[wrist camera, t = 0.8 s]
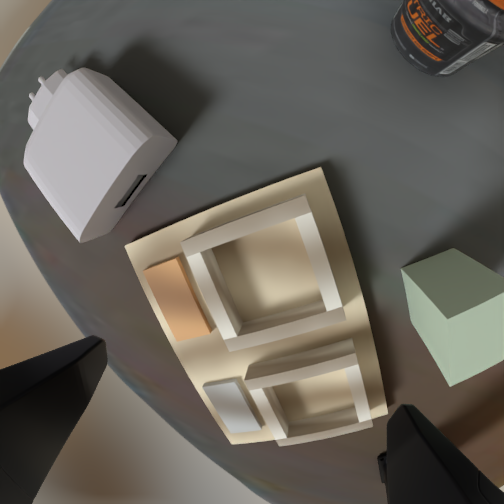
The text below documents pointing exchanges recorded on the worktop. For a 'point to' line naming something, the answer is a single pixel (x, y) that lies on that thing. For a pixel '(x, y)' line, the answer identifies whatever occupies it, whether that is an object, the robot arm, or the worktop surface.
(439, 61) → the pill bottle
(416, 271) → the plug
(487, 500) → the robot arm
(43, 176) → the charger
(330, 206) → the socket board
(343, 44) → the worktop surface
